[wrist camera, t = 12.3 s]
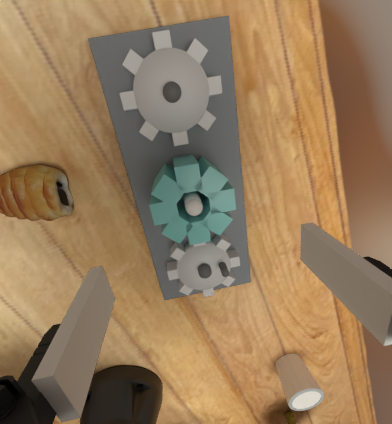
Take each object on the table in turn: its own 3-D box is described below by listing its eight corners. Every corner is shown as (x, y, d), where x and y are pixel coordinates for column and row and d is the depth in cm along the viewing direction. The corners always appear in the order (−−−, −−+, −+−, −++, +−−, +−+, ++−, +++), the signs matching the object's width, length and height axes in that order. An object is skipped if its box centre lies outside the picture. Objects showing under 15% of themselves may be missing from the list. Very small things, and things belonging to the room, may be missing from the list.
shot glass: (285, 348, 45) (304, 386, 39) (310, 355, 47) (332, 392, 41) (266, 369, 48) (281, 408, 41) (291, 375, 49) (309, 414, 43)
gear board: (164, 293, 37) (163, 340, 29) (92, 43, 23) (54, 6, 15) (247, 276, 37) (268, 317, 29) (225, 21, 24) (252, -25, 16)
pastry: (5, 219, 29) (-17, 232, 26) (-17, 167, 27) (-45, 174, 23) (79, 212, 30) (67, 224, 27) (65, 161, 28) (50, 167, 24)
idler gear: (162, 227, 30) (161, 251, 25) (146, 162, 27) (140, 173, 21) (226, 214, 31) (238, 235, 25) (218, 149, 27) (230, 157, 22)
